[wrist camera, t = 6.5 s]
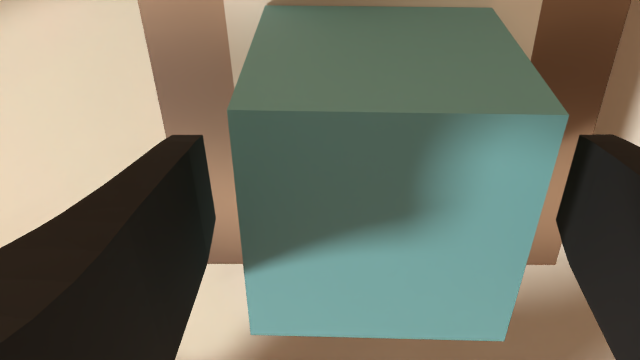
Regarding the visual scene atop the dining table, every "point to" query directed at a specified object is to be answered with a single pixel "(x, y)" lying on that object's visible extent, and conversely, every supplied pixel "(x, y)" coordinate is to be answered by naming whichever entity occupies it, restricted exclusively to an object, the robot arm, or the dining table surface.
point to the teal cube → (388, 171)
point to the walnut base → (248, 4)
